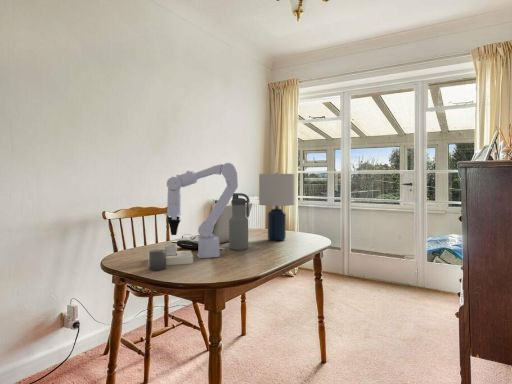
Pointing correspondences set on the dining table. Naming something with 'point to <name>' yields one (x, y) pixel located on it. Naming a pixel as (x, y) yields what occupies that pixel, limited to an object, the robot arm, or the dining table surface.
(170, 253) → the square peg
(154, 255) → the round peg
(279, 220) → the lamp
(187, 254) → the bore plate
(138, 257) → the dining table surface
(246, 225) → the water bottle
